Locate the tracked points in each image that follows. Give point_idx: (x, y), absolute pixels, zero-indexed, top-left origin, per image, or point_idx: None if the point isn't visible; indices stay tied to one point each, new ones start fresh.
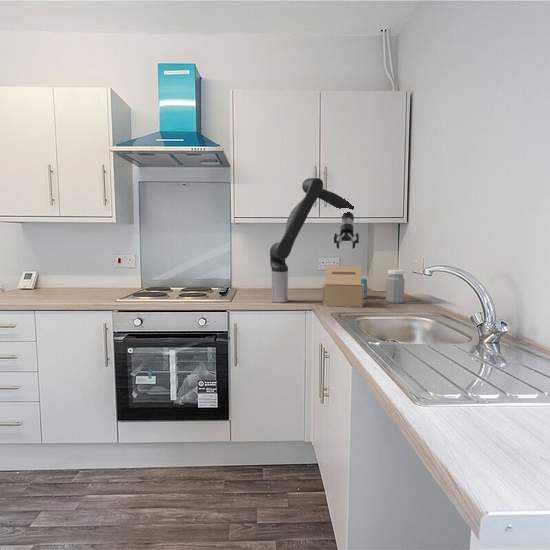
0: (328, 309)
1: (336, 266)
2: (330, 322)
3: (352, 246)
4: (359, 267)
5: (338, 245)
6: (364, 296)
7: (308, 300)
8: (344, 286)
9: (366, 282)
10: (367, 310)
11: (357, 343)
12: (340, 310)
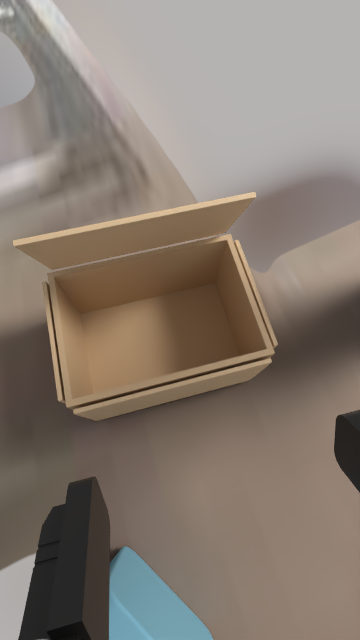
0: None
1: (185, 206)
2: (116, 98)
3: (94, 477)
4: (30, 240)
5: (356, 423)
6: None
7: (332, 372)
8: (135, 256)
9: None
10: None
11: (30, 3)
12: None
